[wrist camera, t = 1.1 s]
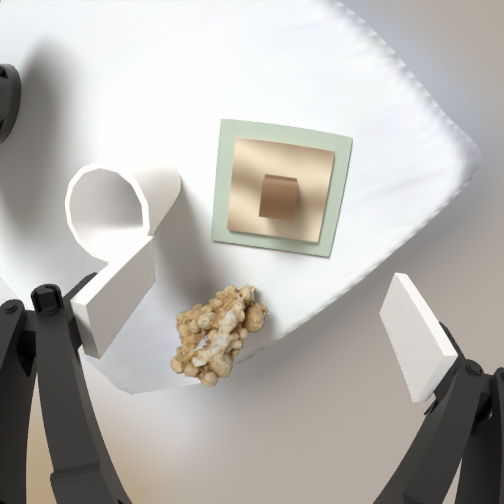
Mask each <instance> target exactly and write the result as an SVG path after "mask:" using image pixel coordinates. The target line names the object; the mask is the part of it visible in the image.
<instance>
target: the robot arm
mask: <svg viewBox="0 0 504 504" xmlns="http://www.w3.org/2000/svg"><path fill="white" fill-rule="evenodd" d="M0 2H1V0H0ZM19 102H20V80H19V75H18V73H17V70H16V69H15V68H14V67H13V66H12V65H10V64H0V143H1V142H2V141H3V140H4V139H5V138H6V137H7V136H8V134H9V132H10V131H11V129H12V127H13V124H14V122H15V119H16V116H17V112H18V108H19ZM154 282H155V266H154V237H152V236H145V235H140V236H139V237H138V238H137V239H136V240H135V241H134V242H132V243H131V244H130V245H129V246H128V247H127V248H126V249H124V250H123V251H122V252H121V253H120V254H119V255H118V256H117V257H115V258H114V259H113V260H112V261H111V262H110V263H109V264H108V265H107V266H106V267H105V268H103V269H102V270H101V271H100V272H99V273H95V272H94V273H92V274H90V275H88V276H86V277H85V278H84V279H82V280H81V281H80V282H79V284H77V285H76V286H75V287H74V288H73V289H72V290H71V291H70V292H69V293H67V294H66V295H65V296H64V297H63V298H62V295H61V291H60V288H59V287H58V286H57V285H54V284H44V285H41V286H39V287H37V288H35V289H34V290H33V291H32V293H31V299H32V302H33V305H34V309H35V311H31V310H25V308H24V305H23V302H22V301H20V300H16V299H13V300H9V301H6V302H5V303H3V304H2V305H1V306H0V504H26V453H27V439H28V428H29V419H30V410H31V403H32V397H33V390H34V385H35V379H36V374H37V373H38V385H39V394H40V402H41V409H42V416H43V422H44V428H45V433H46V438H47V443H48V448H49V452H50V456H51V460H52V464H53V469H54V472H53V473H52V474H51V475H50V481H51V486H52V489H53V493H54V496H55V499H56V502H57V504H132V502H131V501H130V499H129V498H128V496H127V494H126V492H125V491H124V489H123V486H122V484H121V482H120V480H119V478H118V475H117V473H116V471H115V469H114V466H113V464H112V461H111V459H110V456H109V454H108V451H107V449H106V446H105V443H104V440H103V438H102V435H101V432H100V429H99V426H98V423H97V420H96V417H95V414H94V411H93V407H92V404H91V401H90V397H89V393H88V390H87V386H86V382H85V379H84V374H83V370H82V365H81V361H80V356H79V353H78V348H79V347H80V346H81V344H82V345H83V349H84V352H85V354H87V355H90V356H92V357H95V358H98V359H100V358H101V357H102V355H103V354H104V352H105V351H106V349H107V348H108V346H109V345H110V343H111V342H112V340H113V339H114V338H115V336H116V335H117V333H118V332H119V330H120V329H121V327H122V326H123V325H124V323H125V322H126V320H127V319H128V318H129V316H130V315H131V313H132V312H133V311H134V309H135V308H136V306H137V305H138V304H139V302H140V301H141V300H142V298H143V297H144V296H145V294H146V293H147V291H148V290H149V289H150V287H151V286H152V285H153V283H154ZM380 316H381V319H382V321H383V323H384V326H385V328H386V331H387V333H388V336H389V338H390V341H391V343H392V346H393V348H394V351H395V353H396V356H397V359H398V361H399V364H400V367H401V369H402V372H403V375H404V378H405V381H406V383H407V386H408V388H409V392H410V395H411V398H412V401H413V402H423V401H427V400H428V399H429V398H430V396H431V395H432V394H433V392H434V394H435V396H436V399H435V401H434V402H433V403H432V405H431V406H430V407H429V408H428V409H427V411H426V412H425V413H424V415H426V414H427V415H426V418H425V420H424V422H423V424H422V426H421V428H420V430H419V432H418V433H417V435H416V437H415V439H414V441H413V443H412V444H411V446H410V448H409V450H408V451H407V453H406V455H405V456H404V458H403V460H402V461H401V463H400V465H399V467H398V468H397V470H396V471H395V473H394V474H393V476H392V477H391V479H390V480H389V482H388V483H387V485H386V486H385V488H384V489H383V490H382V492H381V493H380V495H379V496H378V497H377V499H376V500H375V501H374V503H373V504H442V503H443V500H444V498H445V496H446V494H447V492H448V490H449V488H450V485H451V483H452V481H453V478H454V476H455V474H456V471H457V469H458V466H459V463H460V461H461V458H462V463H461V470H460V477H459V483H458V489H457V494H456V499H455V504H504V368H502V367H500V368H498V369H497V370H496V372H495V373H494V375H488V374H484V371H483V369H482V368H481V366H480V365H479V364H478V363H476V362H475V361H472V360H469V359H465V357H464V355H463V353H462V352H461V350H460V348H459V346H458V345H457V343H456V342H455V340H454V338H453V337H452V336H451V333H450V332H449V330H448V329H447V328H446V327H445V326H444V325H443V324H442V323H441V322H438V321H437V319H436V318H435V316H434V314H433V313H432V311H431V310H430V308H429V307H428V305H427V304H426V302H425V301H424V299H423V298H422V296H421V295H420V293H419V292H418V290H417V289H416V287H415V286H414V285H413V283H412V282H411V280H410V279H409V277H408V276H407V275H406V274H401V273H394V277H393V280H392V282H391V285H390V288H389V290H388V293H387V296H386V298H385V301H384V303H383V306H382V309H381V311H380ZM491 414H492V416H491V418H490V415H491Z"/></svg>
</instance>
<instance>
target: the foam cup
mask: <svg viewBox="0 0 504 504" xmlns="http://www.w3.org/2000/svg"><path fill="white" fill-rule="evenodd" d="M180 191H181V177H180V175H179V173H178V171H177V169H176V167H174V166H173V165H172V164H171V163H170V162H168V161H165V160H161V159H119V158H115V157H111V158H108V159H104V160H100V161H97V162H95V163H92V164H89V165H86V166H84V167H81V168H80V170H79V171H78V172H77V173H76V175H75V176H74V177H73V178H72V180H71V181H70V182H69V186H68V190H67V194H66V199H65V209H66V216H67V223H68V225H69V227H70V229H71V231H72V233H73V235H74V237H75V239H76V241H77V243H78V244H80V245H81V246H82V247H83V248H84V249H85V250H86V251H87V252H88V253H89V254H90V255H91V256H93V257H95V258H98V259H101V260H104V261H106V262H109V263H110V262H111V261H112V260H113V259H114V258H115V257H117V256H118V255H119V254H120V253H121V252H122V251H123V250H124V249H126V248H127V247H128V246H129V245H130V244H131V243H132V242H134V241H135V240H136V239H137V238H138V237H139V236H140V235H145V236H152V237H153V236H154V233H155V231H156V229H157V227H158V226H159V224H160V223H161V221H162V220H163V218H164V217H165V215H166V214H167V213H168V211H169V210H170V208H171V207H172V205H173V204H174V202H175V201H176V199H177V197H178V195H179V193H180Z"/></svg>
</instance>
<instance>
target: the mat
mask: <svg viewBox="0 0 504 504" xmlns="http://www.w3.org/2000/svg"><path fill="white" fill-rule="evenodd" d="M236 137H239V138H249V139H258V140H266V141H274V142H281V143H288V144H295V145H301V146H307V147H313V148H319V149H324V150H330V151H334V158H333V164H332V170H331V175H330V181H329V187H328V192H327V198H326V203H325V208H324V213H323V219H322V224H321V228H320V233H319V238H318V242H311V241H305V240H298V239H291V238H284V237H277V236H270V235H263V234H256V233H249V232H241V231H234V230H227V223H228V211H229V200H230V190H231V179H232V169H233V159H234V149H235V140H236ZM351 144H352V138H351V137H346V136H342V135H337V134H332V133H326V132H321V131H315V130H310V129H304V128H297V127H291V126H284V125H276V124H269V123H260V122H251V121H241V120H229V119H221V126H220V136H219V146H218V157H217V168H216V180H215V193H214V206H213V220H212V236H211V240H214V241H221V242H228V243H236V244H243V245H250V246H257V247H264V248H271V249H278V250H285V251H292V252H299V253H306V254H313V255H320V256H327V257H329V255H330V251H331V246H332V242H333V238H334V233H335V229H336V224H337V219H338V215H339V210H340V205H341V200H342V195H343V190H344V185H345V179H346V174H347V168H348V163H349V157H350V151H351Z"/></svg>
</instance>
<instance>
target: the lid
mask: <svg viewBox="0 0 504 504" xmlns="http://www.w3.org/2000/svg"><path fill="white" fill-rule="evenodd" d="M333 158H334V151H330V150H324V149H319V148H313V147H307V146H301V145H295V144H288V143H281V142H274V141H266V140H258V139H249V138H239V137H236V140H235V149H234V159H233V169H232V179H231V190H230V200H229V211H228V223H227V230H234V231H241V232H249V233H256V234H263V235H270V236H277V237H284V238H291V239H298V240H305V241H311V242H318V238H319V233H320V228H321V224H322V219H323V213H324V208H325V203H326V198H327V192H328V187H329V181H330V175H331V170H332V164H333Z"/></svg>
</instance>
